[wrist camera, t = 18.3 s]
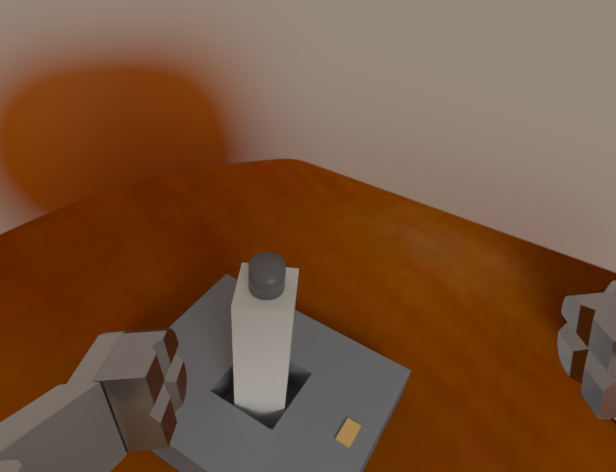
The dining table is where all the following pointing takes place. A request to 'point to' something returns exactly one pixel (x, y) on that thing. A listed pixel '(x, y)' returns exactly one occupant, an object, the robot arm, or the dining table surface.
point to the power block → (299, 400)
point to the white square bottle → (263, 336)
